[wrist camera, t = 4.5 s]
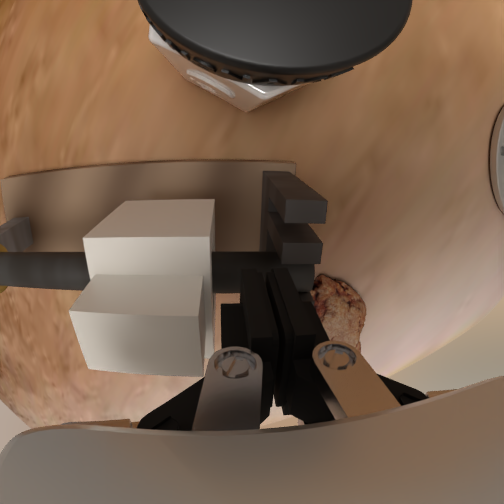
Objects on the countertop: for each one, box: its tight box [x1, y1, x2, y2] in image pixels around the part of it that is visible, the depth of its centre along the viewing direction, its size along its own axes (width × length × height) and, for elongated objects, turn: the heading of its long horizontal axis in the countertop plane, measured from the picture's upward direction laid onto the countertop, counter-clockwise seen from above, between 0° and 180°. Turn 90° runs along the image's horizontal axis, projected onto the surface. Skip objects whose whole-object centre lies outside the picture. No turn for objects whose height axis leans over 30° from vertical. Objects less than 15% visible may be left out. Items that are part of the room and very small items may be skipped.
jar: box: [138, 0, 412, 112], centre depth 10 cm, size 9×8×12 cm
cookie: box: [310, 275, 366, 353], centre depth 23 cm, size 10×11×3 cm
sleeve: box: [69, 199, 216, 377], centre depth 12 cm, size 4×5×8 cm
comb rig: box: [0, 160, 328, 306], centre depth 15 cm, size 21×8×9 cm, turn 88°
